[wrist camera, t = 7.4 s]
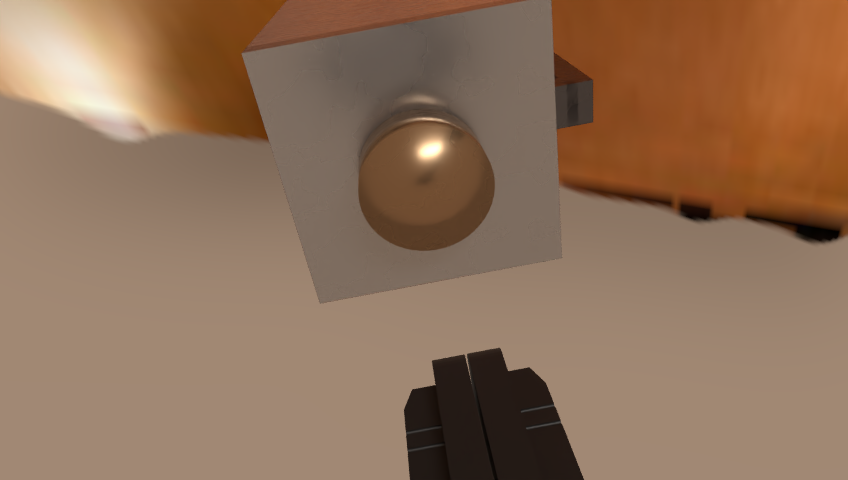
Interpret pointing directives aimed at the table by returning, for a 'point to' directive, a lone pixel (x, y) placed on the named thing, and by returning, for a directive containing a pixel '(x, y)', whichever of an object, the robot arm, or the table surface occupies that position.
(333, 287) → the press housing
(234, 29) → the table surface
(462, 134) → the brass disc knob
